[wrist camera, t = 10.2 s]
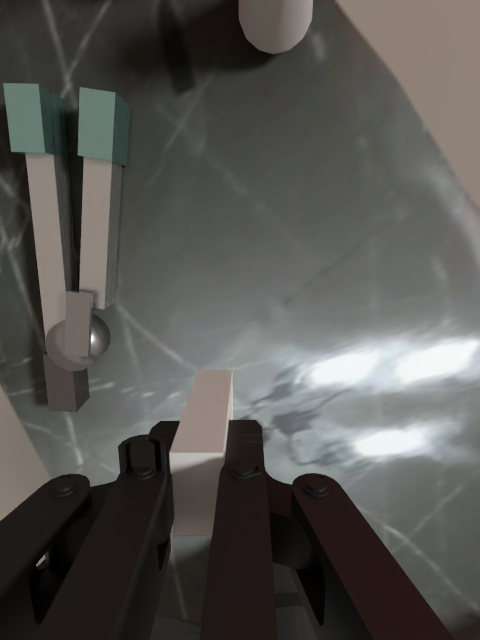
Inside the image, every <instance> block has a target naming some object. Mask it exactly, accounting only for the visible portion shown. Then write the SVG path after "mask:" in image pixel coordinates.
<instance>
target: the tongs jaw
mask: <svg viewBox="0 0 480 640" xmlns="http://www.w3.org/2000/svg"><path fill="white" fill-rule="evenodd" d="M130 107H131V106H130V105H129V104H128V103H126V102H125V101H124V100H123V99H122V98H121V97H120V96H119V95H118V94H116V93H115V92H108V91H102V90H95V89H88V88H82V87H80V98H79V131H78V156H81V157H84V167H83V196H82V224H81V253H80V282H79V291H73V290H68V291H66V320H65V354H70V355H77V356H84V357H89V356H90V355H91V334H92V311H93V308H98V309H106V308H107V307H109V306H110V305H112V304H113V303H114V301H115V284H116V267H117V250H118V233H119V217H120V200H121V183H122V166H127V156H128V140H129V123H130Z"/></svg>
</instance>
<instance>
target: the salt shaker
mask: <svg viewBox="0 0 480 640" xmlns="http://www.w3.org/2000/svg"><path fill="white" fill-rule="evenodd" d="M312 7H313V0H239V21H240V24H241V26H242V29H243V32H244V34H245V37H246V39H247V40H248V41H249V42H250V43H251V44H253V45H254V46H255V47H256V48H257V49H258V50H260V51H264V52H267V53H270V54H277V53H281V52H285V51H289V50H290V49H291V48H293V47H294V46H295V45H296V44H297V43H299V42H300V41H301V40H302V39H303V37H304V35H305V33H306V31H307V29H308V27H309V25H310V23H311V20H312Z"/></svg>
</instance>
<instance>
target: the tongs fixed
mask: <svg viewBox="0 0 480 640" xmlns="http://www.w3.org/2000/svg"><path fill="white" fill-rule="evenodd" d="M3 85H4V94H5V102H6V111H7V119H8V128H9V137H10V145H11V152H14V153H18V154H22V155H26V163H27V172H28V182H29V191H30V200H31V210H32V219H33V228H34V238H35V247H36V256H37V266H38V275H39V284H40V294H41V303H42V312H43V322H44V331H45V347H46V351H47V352H46V353H44V354H43V361H44V370H45V379H46V388H47V398H48V407H49V411H69V412H77V411H78V410H79V409H80V407H81V406H82V405H83V404H84V403H85V402H86V401H87V399H88V398H89V387H88V375H87V368H88V367H89V366H90V365H91V364H92V363H94V362H95V361H96V360H97V359H98V358H99V357H100V356H101V355H102V354H103V353H104V352H105V351H106V350H107V348H108V346H109V344H110V332H109V329H108V327H107V325H106V324H105V322H104V321H103V320H102V319H101V318H99V317H98V316H96V315H94V314H92V334H91V355H90V356H89V357H84V356H77V355H70V354H65V320H66V291H68V290H73V291H79V287H78V274H77V262H76V250H75V237H74V225H73V213H72V200H71V188H70V176H69V164H68V151H67V139H66V127H65V114H64V102H63V99H62V98H61V97H59V96H57V95H56V94H54V93H52V92H51V91H49V90H47V89H46V88H44V87H43V86H41V85H39V84H13V83H3Z"/></svg>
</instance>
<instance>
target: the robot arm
mask: <svg viewBox="0 0 480 640" xmlns="http://www.w3.org/2000/svg"><path fill="white" fill-rule="evenodd" d="M118 451H119V463H120V474H119V476H118V478H117V480H116V481H114V482H111V483H107V484H103V485H98V486H93V487H90V481H89V480H88V478H87V477H86V476H83V475H80V474H67V475H62V476H59V477H57V478H54V479H52V480H50V481H48V482H47V483H46V484H44V485H43V486H41V487H40V488H39V489H38V490H37V491H36V492H34V493H33V494H32V495H31V496H30V497H28V498H27V499H26V500H25V501H24V502H22V503H21V504H20V505H19V506H18V507H17V508H15V509H14V510H13V511H12V512H11V513H9V515H7V516H6V517H5V518H4V519H3V520H1V521H0V640H454V638H453V637H452V636H451V634H450V633H449V631H448V630H447V629H446V627H445V626H444V625H443V623H442V622H441V621H440V619H439V618H438V617H437V615H436V614H435V613H434V611H433V610H432V609H431V607H430V606H429V604H428V603H427V602H426V600H425V599H424V598H423V596H422V595H421V594H420V592H419V591H418V590H417V588H416V587H415V586H414V584H413V583H412V582H411V580H410V579H409V578H408V576H407V575H406V573H405V572H404V571H403V569H402V568H401V567H400V565H399V564H398V563H397V561H396V560H395V559H394V557H393V556H392V555H391V553H390V552H389V551H388V549H387V548H386V547H385V545H384V544H383V542H382V541H381V540H380V538H379V537H378V536H377V534H376V533H375V532H374V530H373V529H372V528H371V526H370V525H369V524H368V522H367V521H366V520H365V518H364V517H363V515H362V514H361V513H360V511H359V510H358V509H357V507H356V506H355V505H354V503H353V502H352V501H351V499H350V498H349V497H348V495H347V494H346V493H345V491H344V490H343V489H342V487H341V486H340V485H339V484H338V483H337V482H336V481H335V480H334V479H332V478H330V477H328V476H326V475H322V474H317V473H311V474H304V475H301V476H299V477H297V478H296V479H295V480H294V481H293V484H292V485H290V484H286V483H283V482H279V481H277V480H275V479H273V478H272V477H271V476H269V475H268V473H267V472H266V470H265V467H264V452H263V438H262V427H261V426H260V424H259V423H258V422H257V421H256V420H233V389H232V370H198V373H197V376H196V378H195V381H194V384H193V387H192V390H191V393H190V395H189V398H188V401H187V404H186V407H185V410H184V412H183V415H182V418H181V421H160V422H159V423H157V424H156V425H155V426H154V427H152V429H151V431H150V433H149V435H148V434H146V435H138V436H134V437H131V438H128V439H127V440H125V441H123V442H122V443H121V444H120V445H119V446H118ZM172 525H173V527H174V536H212V541H211V549H210V558H209V566H208V574H207V583H206V591H205V599H204V608H203V616H202V624H201V623H196V622H192V621H187V620H183V619H178V618H174V617H169V616H165V615H160V614H156V610H157V606H158V602H159V598H160V593H161V589H162V585H163V581H164V577H165V572H166V568H167V564H168V560H169V556H170V551H171V540H170V533H171V529H172ZM44 554H45V560H44V561H43V562H42V563H41V564H40V565H39V566H37V567H36V564H37V563H38V561H39V560H40V559H41V558H42V557H43V556H44Z"/></svg>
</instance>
